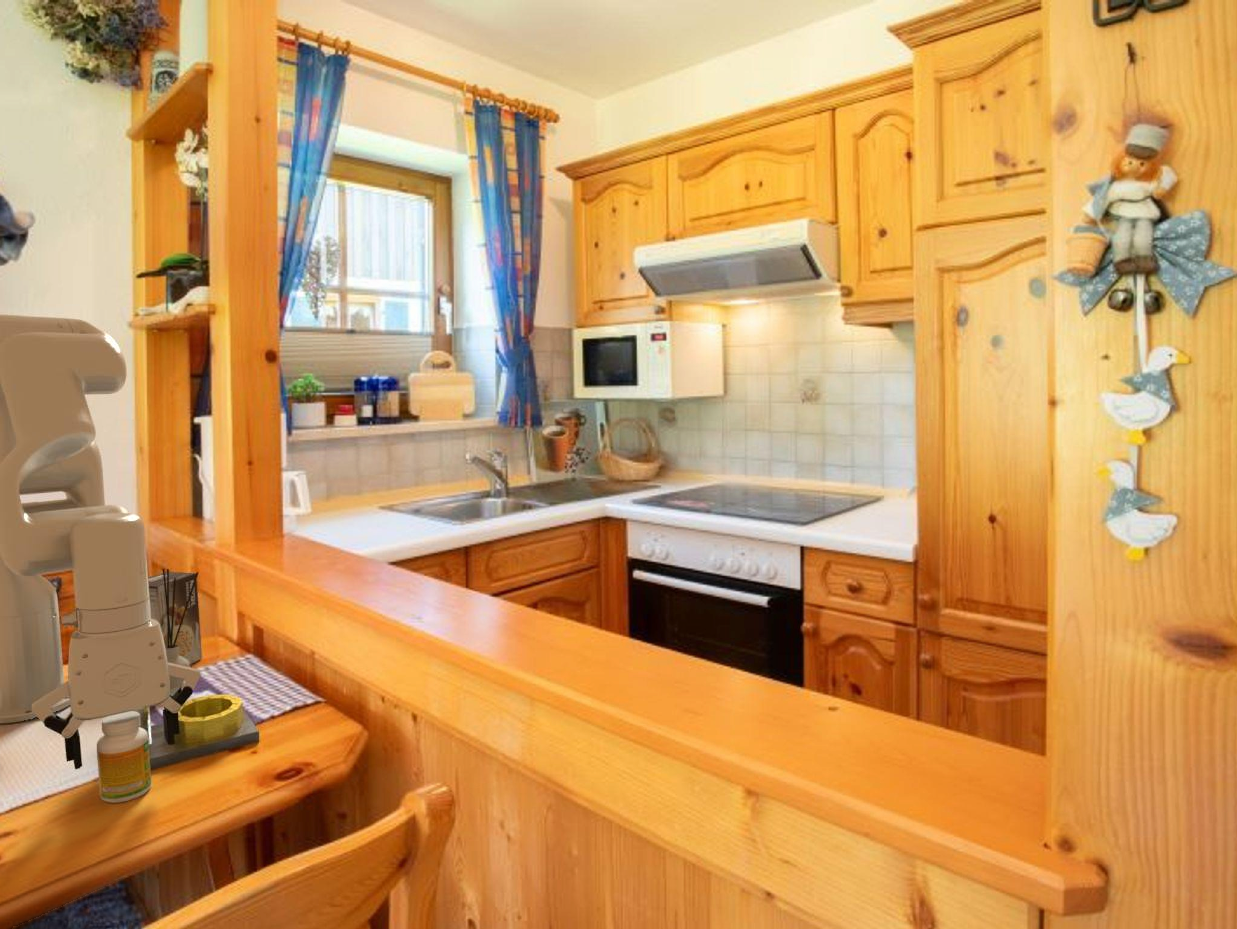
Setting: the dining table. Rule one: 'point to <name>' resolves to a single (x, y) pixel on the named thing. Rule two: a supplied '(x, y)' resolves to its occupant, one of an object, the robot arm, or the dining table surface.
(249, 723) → the grey peg stand
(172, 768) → the dining table surface
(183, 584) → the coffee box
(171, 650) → the reed diffuser
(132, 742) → the supplement bottle
